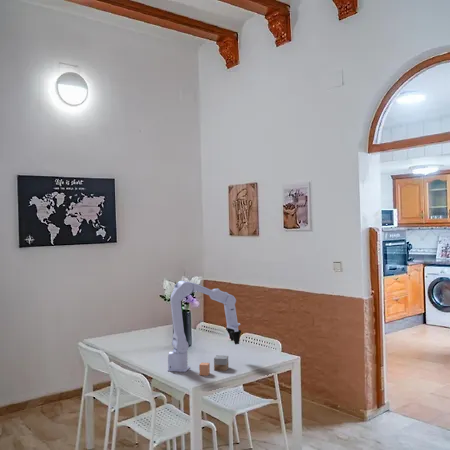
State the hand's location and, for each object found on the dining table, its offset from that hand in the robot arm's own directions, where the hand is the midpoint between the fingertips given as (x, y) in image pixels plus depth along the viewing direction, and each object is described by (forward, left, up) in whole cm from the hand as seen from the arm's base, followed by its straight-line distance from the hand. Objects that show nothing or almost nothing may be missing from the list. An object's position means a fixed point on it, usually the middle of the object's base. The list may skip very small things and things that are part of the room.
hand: (235, 342), depth 254 cm
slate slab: (-5, -12, -8) cm, 15 cm away
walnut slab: (-5, -12, -11) cm, 17 cm away
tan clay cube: (-11, -22, -11) cm, 27 cm away
